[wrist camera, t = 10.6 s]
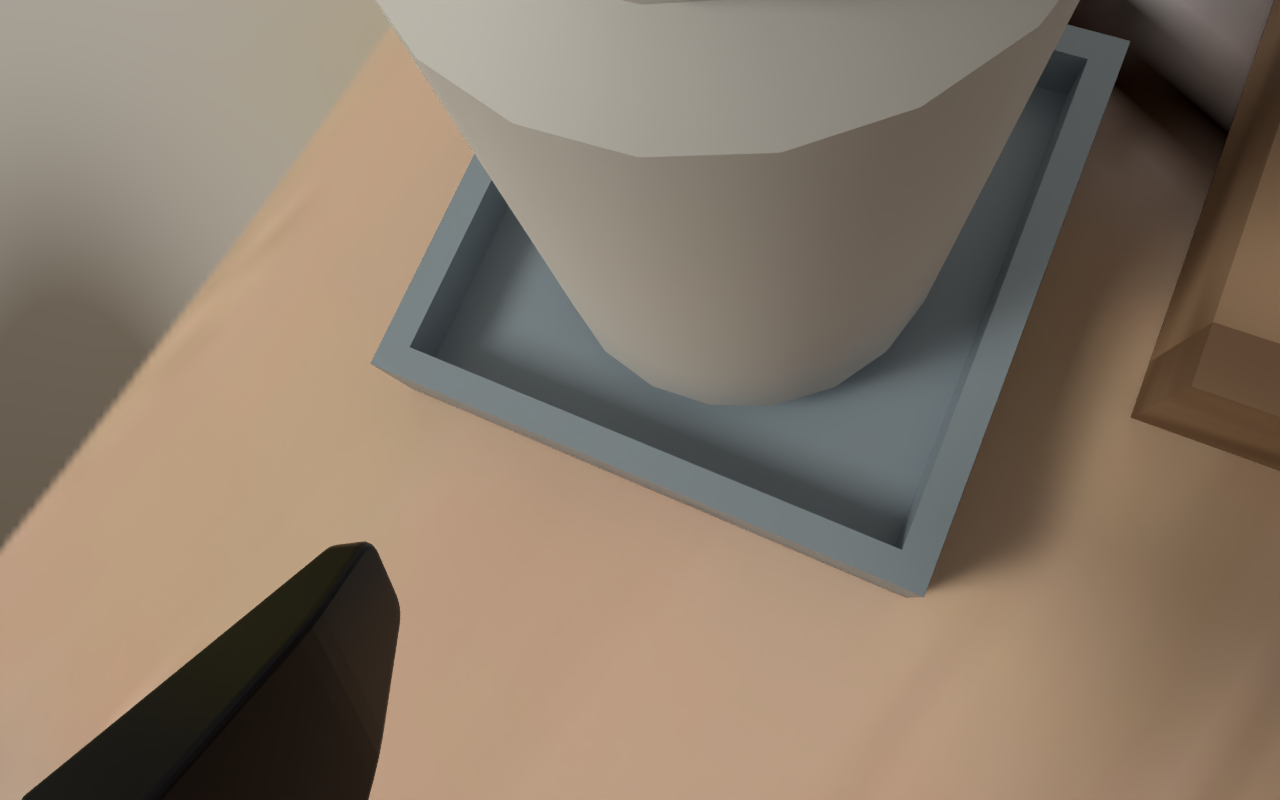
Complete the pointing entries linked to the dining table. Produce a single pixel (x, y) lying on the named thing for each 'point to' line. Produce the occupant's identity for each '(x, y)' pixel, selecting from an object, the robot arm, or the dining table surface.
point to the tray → (794, 430)
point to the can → (737, 163)
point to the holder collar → (1230, 291)
